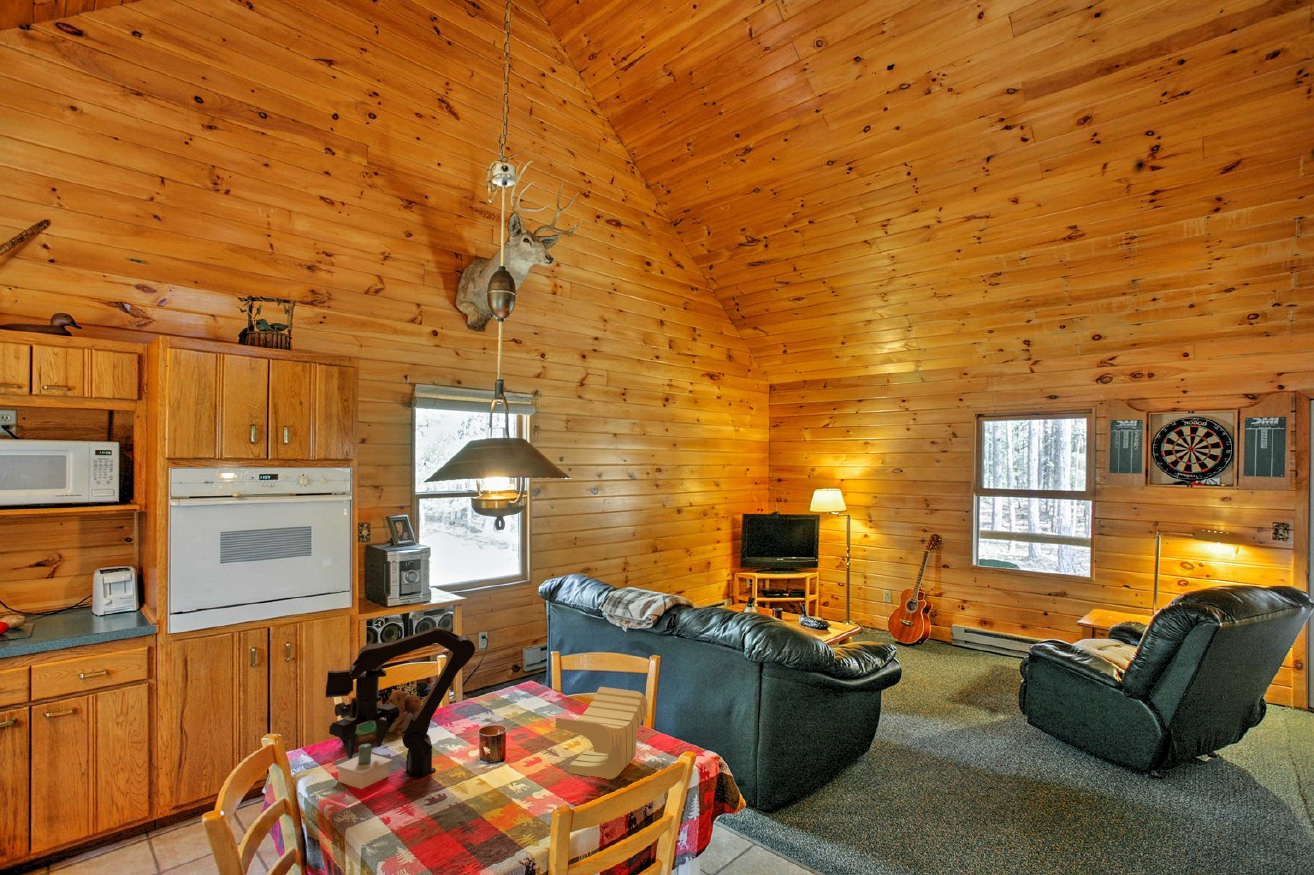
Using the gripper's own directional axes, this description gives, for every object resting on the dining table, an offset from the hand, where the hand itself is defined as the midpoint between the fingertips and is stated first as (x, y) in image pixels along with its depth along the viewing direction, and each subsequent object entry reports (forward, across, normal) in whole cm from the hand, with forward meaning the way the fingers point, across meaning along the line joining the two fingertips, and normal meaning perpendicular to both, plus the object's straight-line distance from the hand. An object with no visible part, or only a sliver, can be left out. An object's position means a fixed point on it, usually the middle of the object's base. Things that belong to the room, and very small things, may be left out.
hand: (364, 752), depth 186 cm
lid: (+4, 0, 0) cm, 4 cm away
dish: (+8, 0, 0) cm, 8 cm away
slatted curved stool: (+8, -39, +52) cm, 66 cm away
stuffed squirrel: (+8, -32, -22) cm, 40 cm away
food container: (+8, -19, -22) cm, 30 cm away
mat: (+8, -8, -11) cm, 16 cm away
